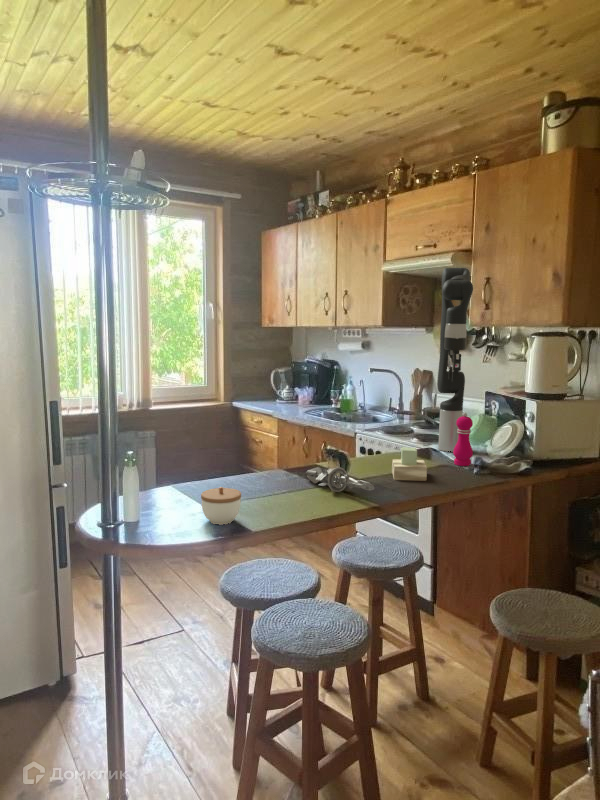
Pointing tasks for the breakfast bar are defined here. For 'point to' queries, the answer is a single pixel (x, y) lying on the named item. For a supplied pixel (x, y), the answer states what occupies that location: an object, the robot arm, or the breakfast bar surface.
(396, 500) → the breakfast bar surface
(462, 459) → the pepper mill
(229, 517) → the lidded jar
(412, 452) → the green cube
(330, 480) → the spaceship
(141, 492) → the breakfast bar surface
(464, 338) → the robot arm
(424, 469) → the birch block
